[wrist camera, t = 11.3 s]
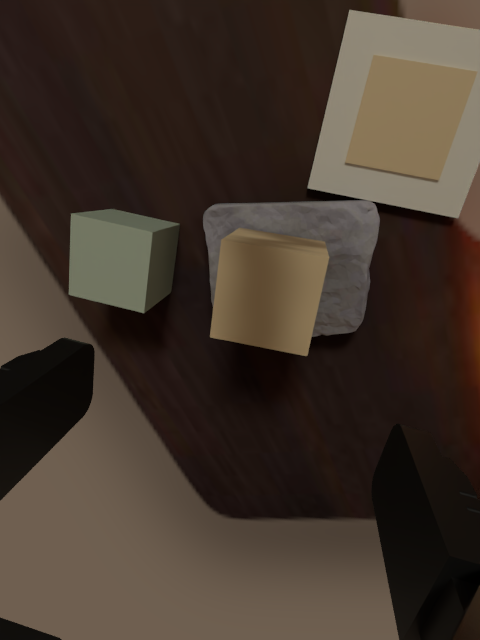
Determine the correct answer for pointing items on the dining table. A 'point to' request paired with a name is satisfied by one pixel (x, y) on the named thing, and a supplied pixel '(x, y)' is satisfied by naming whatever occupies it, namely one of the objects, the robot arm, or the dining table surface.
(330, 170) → the card
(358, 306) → the stone block
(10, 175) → the dining table surface
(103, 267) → the sage green cube
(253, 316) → the maple cube
